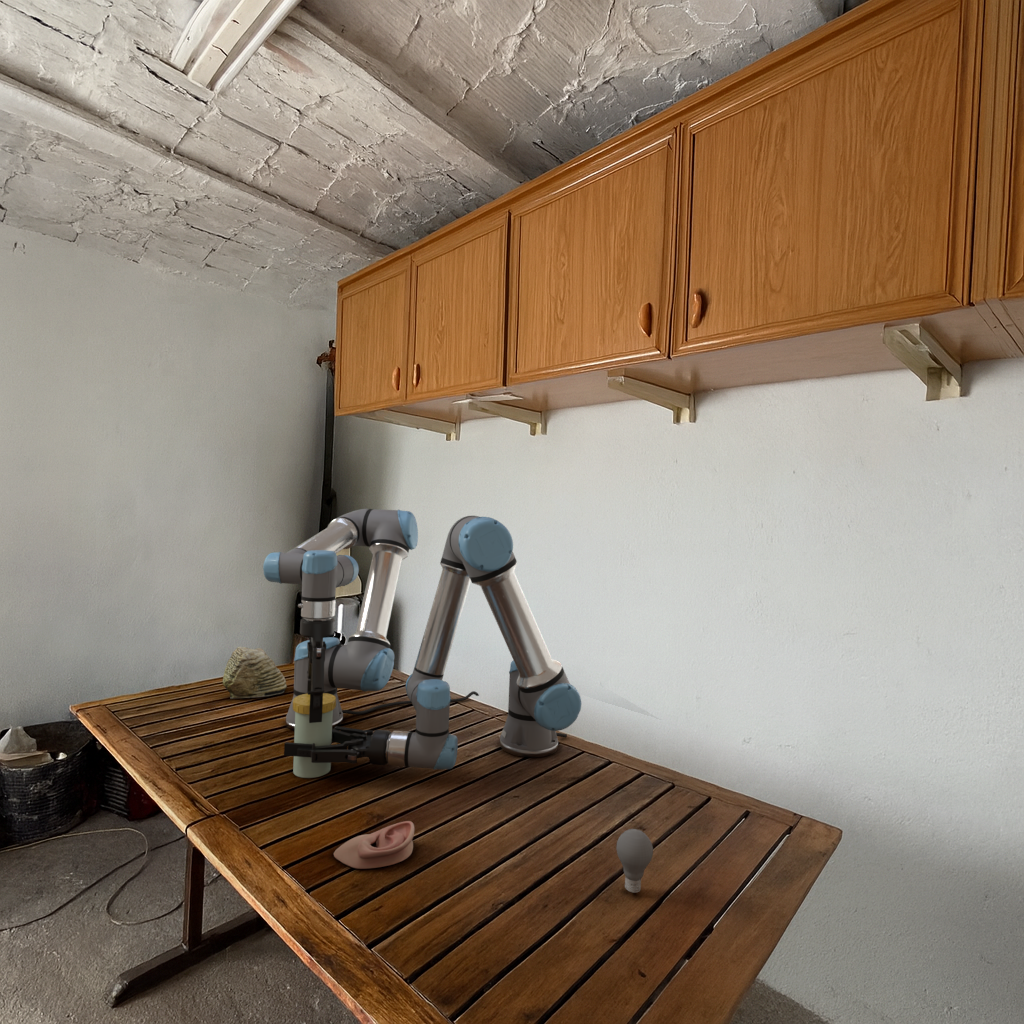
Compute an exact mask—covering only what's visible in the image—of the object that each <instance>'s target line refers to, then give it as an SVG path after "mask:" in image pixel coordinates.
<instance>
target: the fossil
mask: <svg viewBox="0 0 1024 1024" xmlns="http://www.w3.org/2000/svg"><path fill="white" fill-rule="evenodd" d="M222 676H223V677H222V685H223V687H224V688H225V690H226V691H228V693H229V698H230V699H250V698H264V697H271V696H275V695H281V694H284V693H285V691H286V689H287V687H288V686H287V680H286V678H285V676H284V674H283V673H282V672H281V669H279V668H278V667H277V665H276V663H275V662H274V660H273V659H272V658H271V657H270V656H269V655H268V654H267V653H266V652H265V650H264V649H263V648H260V647H258V648H251V647H247V646H246V647H245V646H238V647H237V648H236V649H235V650H233V651H232V653H231V656H230V657H229V659H228V660H227V663H226V666H225V668H224V671H223V675H222Z"/></svg>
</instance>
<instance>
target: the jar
mask: <svg viewBox="0 0 1024 1024" xmlns="http://www.w3.org/2000/svg"><path fill="white" fill-rule="evenodd" d="M332 717H333V710H332V711H330V712H326V713H322V722H316V723H309V714H300V713H297V712H295V730H294V737H293V739H294V740H293V743H303V744H313V743H315V746H324V745H332V744H333V742H332ZM292 766H293V767H292V770H293V771H292V773H293V774H294V775H295V776H296V777H298V778H304V779H313V778H314V779H315V778H319V777H322V776H325V775H327V774H328V773H330V772H331V767H332V763H312V762H311V757H298V756H293V765H292Z"/></svg>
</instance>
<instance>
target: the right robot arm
mask: <svg viewBox="0 0 1024 1024" xmlns="http://www.w3.org/2000/svg"><path fill="white" fill-rule="evenodd" d="M439 563H440V564H439V565H440V566H441V569H442V571H441V574H440V577H439V580H438V583H437V587H436V590H435V594H434V597H433V601H432V605H431V608H430V612H429V615H428V618H427V622H426V626H425V629H424V632H423V636H422V639H421V642H420V646H419V648H418V649H419V650H418V653H417V656H416V660H415V662H414V663H415V664H414V667H413V670H412V673H411V674H410V675H409V676H408V677H407V679H406V681H405V691H406V692H405V693H406V696H407V698H408V699H409V701H411V702H412V706H413V708H414V710H415V732H414V731H404V730H393V731H391V730H388V729H387V730H385V729H375V730H372V729H358V728H352V727H345V726H340V725H339V726H336V727H334V728H333V729H332V743H335V744H331V745H324V746H315V743H313V744H303V743H294V742H288V741H287V742H286V741H285V742H284V744H283V745H284V746H283V756H287V757H294V756H298V757H311V762H312V763H331V764H332V763H333V764H334V763H335V764H337V763H338V764H339V763H341V764H342V763H343V764H344V763H347V764H355V765H356V764H357V763H358V759H362V758H368V762H369V764H371V765H373V766H374V765H375V766H386V765H388V766H391V767H399V769H402V768H419V769H429V770H434V771H435V770H451V769H453V768H454V767H455V765H456V763H457V758H458V748H459V743H458V740H459V739H458V737H457V735H455V734H452V733H450V730H449V726H450V708H451V702H450V700H451V699H452V696H451V686H450V684H449V682H448V681H446V680H443V678H444V674H445V671H446V668H447V664H448V660H449V657H450V654H451V650H452V647H453V644H454V640H455V638H456V637H455V636H456V633H457V630H458V627H459V622H460V620H461V615H462V612H463V609H464V605H465V603H466V599H467V596H468V593H469V588H470V585H471V583H472V584H474V585H476V586H479V587H480V588H481V591H482V593H483V595H484V597H485V600H486V602H487V604H488V607H489V609H490V611H491V613H492V615H493V617H494V620H495V622H496V624H497V626H498V629H499V632H500V633H501V635H502V638H503V640H504V642H505V644H506V647H507V649H508V651H509V653H510V656H511V658H512V660H511V662H510V667H509V671H508V674H509V681H508V682H509V683H508V704H507V707H508V709H507V717H506V719H505V722H504V724H503V728H502V730H501V733H500V736H499V747H500V748H501V749H502V750H503V751H504V752H506V753H508V754H509V755H514V756H517V757H521V758H543V757H547V756H550V755H553V754H555V753H556V752H557V750H558V749H559V740H558V737H560V738H565V739H566V738H567V737H568V735H567V733H562V732H558V731H563V730H565V729H568V728H569V727H570V726H572V725H573V724H574V723H575V721H577V719H578V717H579V714H580V712H581V710H582V698H581V694H580V692H579V691H578V689H577V688H576V687H575V686H574V685H573V684H571V683H570V681H569V679H568V676H567V674H566V672H565V669H564V667H563V665H562V663H561V662H560V661H558V660H557V659H554V658H553V657H552V655H551V653H550V651H549V648H548V646H547V643H546V642H545V639H544V638H543V637H544V636H543V635H542V632H541V630H540V628H539V625H538V623H537V621H536V618H535V615H534V614H533V612H532V609H531V607H530V605H529V602H528V600H527V597H526V595H525V593H524V591H523V588H522V586H521V584H520V581H519V579H518V577H517V575H516V572H515V570H516V568H517V565H518V561H517V558H516V556H515V553H514V539H513V536H512V534H511V532H510V531H509V529H508V527H506V526H505V525H504V524H503V523H502V522H500V521H499V520H497V519H495V518H492V517H490V516H478V515H467V516H463V517H460V518H459V519H458V520H456V521H455V522H454V523H453V525H452V526H451V528H450V529H449V531H448V533H447V537H446V541H445V544H444V548H443V552H442V554H441V559H440V562H439ZM336 743H337V744H336Z"/></svg>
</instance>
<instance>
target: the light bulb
mask: <svg viewBox="0 0 1024 1024" xmlns="http://www.w3.org/2000/svg"><path fill="white" fill-rule="evenodd" d="M615 849H616V854H617V857H618V859H619V861H620V863H621V865H622V867H623V873H624V874H623V875H624V876H625V878H624V888H625V890H627V891H628V892H630V893H634V894H635V893H639V892H640V891H641V889H642V887H641V886H642V879H643V877H644V875H645V871H646V868H647V867H648V866H649V864H650V863H651V861H652V859H653V855H654V847H653V843H652V841H651V838H649V836H648V835H647V834H646V833H645V832H643V831H642V830H641V829H636V828H629V829H627V830H625V831H623V832H622V833H621V834H620V835H619V837H618V839H617V841H616V847H615Z"/></svg>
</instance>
